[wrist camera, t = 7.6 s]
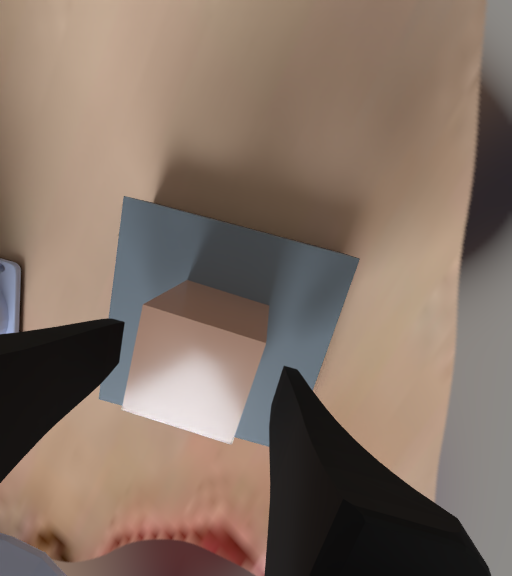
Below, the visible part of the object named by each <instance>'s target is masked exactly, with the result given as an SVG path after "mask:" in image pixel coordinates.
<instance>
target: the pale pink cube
mask: <svg viewBox="0 0 512 576" xmlns="http://www.w3.org/2000/svg"><path fill="white" fill-rule="evenodd" d="M268 315H269V305H266V304H262V303H259V302H256V301H253V300H250V299H247V298H243V297H240V296H237V295H234V294H231V293H227V292H224V291H221V290H218V289H215V288H212V287H208V286H205V285H202V284H199V283H196V282H192V281H189V280H186V281H184V282H182V283H181V284H179V285H177V286H175V287H173V288H172V289H170V290H168V291H166V292H164V293H162V294H161V295H159V296H157V297H155V298H153V299H152V300H150V301H148V302H146V303H144V304H143V306H142V311H141V316H140V321H139V326H138V331H137V336H136V341H135V346H134V351H133V356H132V361H131V366H130V371H129V376H128V381H127V386H126V391H125V395H124V400H123V405H122V410H124V411H127V412H131V413H134V414H137V415H140V416H143V417H146V418H150V419H153V420H156V421H159V422H162V423H165V424H168V425H172V426H175V427H178V428H181V429H184V430H187V431H190V432H194V433H197V434H200V435H203V436H206V437H209V438H213V439H216V440H219V441H222V442H225V443H228V444H231V445H232V442H233V439H234V436H235V433H236V430H237V427H238V424H239V422H240V419H241V416H242V413H243V410H244V407H245V404H246V401H247V398H248V395H249V392H250V389H251V386H252V383H253V381H254V378H255V375H256V372H257V369H258V366H259V363H260V360H261V357H262V354H263V351H264V348H265V345H266V340H267V328H268Z"/></svg>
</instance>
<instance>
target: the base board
mask: <svg viewBox="0 0 512 576" xmlns="http://www.w3.org/2000/svg"><path fill="white" fill-rule="evenodd" d="M358 262H359V258H356V257H353V256H350V255H347V254H344V253H340V252H336V251H332V250H329V249H325V248H321V247H317V246H314V245H310V244H306V243H302V242H299V241H295V240H291V239H287V238H284V237H280V236H276V235H272V234H269V233H265V232H261V231H257V230H253V229H250V228H246V227H242V226H238V225H235V224H231V223H227V222H223V221H220V220H216V219H212V218H208V217H205V216H201V215H197V214H193V213H190V212H186V211H182V210H178V209H175V208H171V207H167V206H163V205H160V204H156V203H152V202H148V201H143V200H139V199H134V198H130V197H126V196H124V199H123V207H122V215H121V223H120V231H119V239H118V248H117V256H116V264H115V272H114V280H113V288H112V296H111V304H110V312H109V319H110V318H112V319H116V320H119V321H123V322H125V325H124V332H123V339H122V346H121V353H120V360H119V364H118V365H117V366H116V367H115V368H114V370H113V371H112V372H111V373H110V374H109V376H108V377H107V378H106V379H105V380H104V381H103V382H102V383H101V385H100V393H99V399H100V400H104V401H108V402H111V403H115V404H118V405H123V400H124V395H125V391H126V386H127V381H128V376H129V371H130V366H131V361H132V356H133V351H134V346H135V341H136V336H137V331H138V326H139V321H140V316H141V311H142V306H143V304H144V303H146V302H148V301H150V300H152V299H153V298H155V297H157V296H159V295H161V294H162V293H164V292H166V291H168V290H170V289H172V288H173V287H175V286H177V285H179V284H181V283H182V282H184V281H186V280H189V281H192V282H196V283H199V284H202V285H205V286H208V287H212V288H215V289H218V290H221V291H224V292H227V293H231V294H234V295H237V296H240V297H243V298H247V299H250V300H253V301H256V302H259V303H262V304H266V305H269V315H268V328H267V340H266V345H265V348H264V351H263V354H262V357H261V360H260V363H259V366H258V369H257V372H256V375H255V378H254V381H253V383H252V386H251V389H250V392H249V395H248V398H247V401H246V404H245V407H244V410H243V413H242V416H241V419H240V422H239V424H238V427H237V430H236V433H235V436H234V437H236V438H240V439H244V440H247V441H251V442H254V443H258V444H261V445H265V446H269V422H270V412H271V404H272V401H273V398H274V395H275V392H276V388H277V385H278V382H279V379H280V376H281V373H282V369H283V366H287V367H291V368H294V369H298V371H299V372H300V373H301V375H302V376H303V378H304V379H305V381H306V382H307V383H308V385H309V386H310V388H311V389H312V391H313V388H314V385H315V382H316V379H317V377H318V374H319V371H320V368H321V366H322V363H323V360H324V357H325V354H326V352H327V349H328V346H329V343H330V340H331V338H332V335H333V332H334V329H335V326H336V324H337V321H338V318H339V315H340V312H341V310H342V307H343V304H344V301H345V299H346V296H347V293H348V290H349V287H350V285H351V282H352V279H353V276H354V273H355V271H356V268H357V265H358Z"/></svg>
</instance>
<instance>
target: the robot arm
mask: <svg viewBox="0 0 512 576" xmlns="http://www.w3.org/2000/svg"><path fill="white" fill-rule="evenodd" d="M4 267H5V269H4ZM20 283H21V268H20V266H19V265H18V264H17V263H15V262H12V261H9V260H5V259H1V258H0V483H1V482H2V480H3V479H4V478H5V477H6V476H7V475H8V474H9V473H10V472H11V470H12V469H13V468H14V467H15V466H16V465H17V464H18V463H19V462H20V460H21V459H22V458H23V457H24V456H25V455H26V454H27V453H28V452H29V451H30V450H31V449H32V448H33V447H34V446H35V444H36V443H37V442H38V441H39V440H40V439H41V438H42V437H43V436H44V435H45V434H46V433H47V432H48V431H49V430H50V429H51V428H52V427H53V426H54V425H55V424H56V423H58V422H59V421H60V420H61V419H62V418H63V417H64V416H65V415H66V414H68V413H69V412H70V411H71V410H72V409H73V408H74V407H75V406H77V405H78V404H79V403H80V402H81V401H82V400H83V399H84V398H86V397H87V396H88V395H89V394H90V393H91V392H92V391H93V390H94V389H96V388H97V387H98V386H99V385H100V384H101V383H102V382H103V381H104V380H105V379H106V378H107V377H108V376H109V374H110V373H111V372H112V371H113V370H114V368H115V367H116V366H117V365H118V364H119V360H120V353H121V346H122V339H123V332H124V325H125V322H123V321H119V320H116V319H112V318H110V319H100V320H93V321H87V322H81V323H76V324H70V325H64V326H58V327H52V328H45V329H39V330H32V331H25V332H19V314H20ZM269 450H270V509H269V525H268V539H267V552H266V565H265V576H491V574H490V571H489V568H488V566H487V564H486V562H485V561H484V559H483V558H482V556H481V555H480V553H479V552H478V550H477V548H476V547H475V545H474V543H473V542H472V540H471V539H470V537H469V536H468V534H467V533H466V531H465V529H464V528H463V526H462V524H461V523H460V521H459V520H458V519H457V518H456V517H455V516H453V515H452V514H450V513H449V512H447V511H446V510H444V509H443V508H441V507H440V506H438V505H437V504H435V503H434V502H432V501H431V500H430V499H428V498H427V497H425V496H424V495H422V494H421V493H419V492H418V491H416V490H415V489H414V488H412V487H411V486H410V485H408V484H407V483H406V482H404V481H403V480H402V479H400V478H399V477H398V476H396V475H395V474H394V473H392V472H391V471H390V470H389V469H388V468H386V467H385V466H384V465H383V464H381V463H380V462H379V461H378V460H377V459H375V458H374V457H373V456H372V455H371V454H370V453H369V452H368V451H366V450H365V449H364V448H363V447H362V446H361V445H360V444H359V443H358V442H357V441H356V440H355V439H353V437H352V436H351V435H350V434H349V433H348V432H347V431H346V430H345V429H344V428H343V427H342V426H341V425H340V424H339V423H338V422H337V421H336V420H335V418H334V417H333V416H332V415H331V414H330V413H329V411H328V410H327V409H326V408H325V406H324V405H323V404H322V403H321V401H320V400H319V399H318V397H317V396H316V395H315V393H314V392H313V391H312V389H311V388H310V386H309V385H308V383H307V382H306V381H305V379H304V378H303V376H302V375H301V373H300V372H299V371H298V369H294V368H291V367H287V366H283V369H282V373H281V376H280V379H279V382H278V385H277V388H276V392H275V395H274V398H273V401H272V404H271V412H270V422H269ZM0 576H66V574H65V573H64V572H63V571H62V570H61V569H60V568H59V567H58V566H57V565H56V564H55V563H54V561H53V560H52V559H51V558H50V557H49V556H48V555H47V554H46V553H45V552H43V551H41V550H39V549H37V548H35V547H33V546H31V545H29V544H27V543H25V542H23V541H21V540H19V539H17V538H15V537H12V536H9V535H6V534H2V533H0Z"/></svg>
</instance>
